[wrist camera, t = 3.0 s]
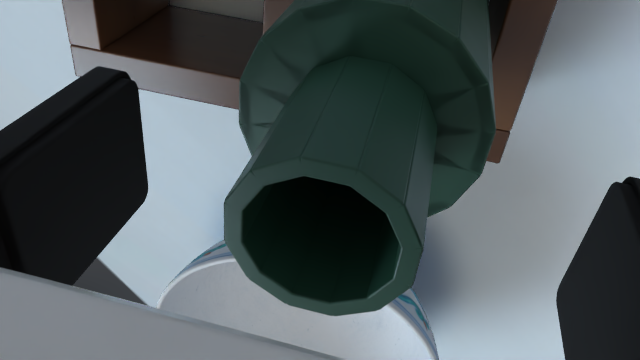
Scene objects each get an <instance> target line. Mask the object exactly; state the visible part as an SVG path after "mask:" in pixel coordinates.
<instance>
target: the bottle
mask: <svg viewBox="0 0 640 360" xmlns="http://www.w3.org/2000/svg"><path fill="white" fill-rule="evenodd" d="M239 125H240V128H241V130H242V133H243V135H244V138H245V140H246V143H247V145H248V148H249V150H250V153H251V155H252V157H251V159H250V161H249V162H248V164H247V165H246V167H245V169H244V170H243V172H242V173H241V175H240V177H239V178H238V180H237V181H236V183H235V185H234V186H233V188H232V189H231V191H230V192H229V194H228V196H227V197H226V199H225V202H224V241H225V244H226V245H227V247H228V249H229V250H230V252H231V253H232V255H233V256H234V258H235V260H236V261H237V263H238V264H239V266H240V267H241V269H242V271H243V272H244V274H245V275H246V277H247V278H248V279H249V280H251V281H252V282H254V283H255V284H257V285H258V286H259V287H261V288H262V289H264V290H265V291H267V292H268V293H270V294H271V295H273V296H274V297H276V298H277V299H279V300H280V301H282V302H283V303H285V304H287V305H289V306H293V307H297V308H301V309H305V310H309V311H313V312H317V313H321V314H325V315H329V316H342V315H350V314H358V313H366V312H374V311H377V310H380V309H382V308H383V307H384V306H386V305H387V304H389V303H390V302H391V301H393V300H394V299H396V298H397V297H399V296H400V295H401V294H403V293H404V292H406V291H407V290H408V289H410V288H411V286H412V285H413V283H414V280H415V276H416V273H417V269H418V266H419V263H420V259H421V256H422V252H423V248H424V239H425V231H426V222H427V217H429V216H432V215H434V214H436V213H438V212H441V211H443V210H445V209H447V208H449V207H450V206H452V205H453V204H454V203H455V202H456V201H457V200H458V199H459V198H460V197H461V195H462V194H463V193H464V192H465V191H466V190H467V189H468V188H469V187H470V186H471V185H472V184H473V183H474V182H475V181H476V180H477V179H478V178H479V177H480V175H481V174H482V172H483V169H484V166H485V163H486V160H487V157H488V154H489V151H490V148H491V145H492V142H493V139H494V136H495V134H496V120H495V104H494V88H493V71H492V55H491V39H490V23H489V6H488V0H294V1H293V3H292V4H291V5H290V6H289V7H288V8H287V9H286V10H285V11H284V12H283V14H282V15H281V16H280V17H279V18H278V19H277V20H276V21H275V22H274V23H273V25H272V26H271V27H270V28H269V29H268V30H267V31H266V32H265V33H264V34H263V36H262V37H261V38H260V39H259V40H258V43H257V45H256V47H255V49H254V51H253V53H252V55H251V57H250V59H249V61H248V63H247V65H246V67H245V69H244V71H243V73H242V75H241V78H240V81H239Z"/></svg>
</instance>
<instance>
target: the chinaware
mask: <svg viewBox="0 0 640 360" xmlns="http://www.w3.org/2000/svg"><path fill="white" fill-rule="evenodd" d="M156 308H158V309H162V310H165V311H169V312H173V313H177V314H180V315H184V316H188V317H191V318H195V319H199V320H203V321H206V322H210V323H214V324H217V325H221V326H225V327H229V328H232V329H236V330H240V331H243V332H247V333H251V334H255V335H258V336H262V337H266V338H269V339H273V340H277V341H280V342H284V343H288V344H292V345H295V346H299V347H303V348H306V349H310V350H314V351H317V352H321V353H325V354H328V355H332V356H336V357H339V358H343V359H347V360H439V357H438V352H437V348H436V344H435V340H434V336H433V333H432V330H431V327H430V324H429V321H428V319H427V316H426V314H425V312H424V309H423V307H422V305H421V303H420V301H419V299H418V297H417V296H416V294H415V292H414V291H413V289H412V288H410V289H408V290H407V291H406V292H404V293H403V294H401V295H400V296H399V297H397V298H396V299H394V300H393V301H391V302H390V303H389V304H387V305H386V306H384V307H383V308H382V309H380V310H377V311H374V312H366V313H358V314H350V315H342V316H329V315H325V314H321V313H317V312H313V311H309V310H305V309H301V308H297V307H293V306H289V305H287V304H285V303H283V302H282V301H280V300H279V299H277V298H276V297H274V296H273V295H271V294H270V293H268V292H267V291H265V290H264V289H262V288H261V287H259V286H258V285H257V284H255V283H254V282H252V281H251V280H249V279H248V278H247V277H246V275H245V274H244V272H243V271H242V269H241V267H240V266H239V264H238V263H237V261H236V260H235V258H234V256H233V255H232V253H231V252H230V250H229V249H228V247H227V245H226V244H225V241H224V240H222V241H220V242H219V243H217V244H215V245H214V246H212V247H211V248H209V249H208V250H206V251H205V252H203V253H202V254H201V255H199V256H198V257H197V258H196V259H194V260H193V261H192V262H191V263H190V264H189V265H187V266H186V267H185V268H184V269H183V270H182V271H181V272H180V273H179V274H178V275H177V276H176V277H175V278H174V279H173V280H172V281H171V282H170V284H169V285H168V286H167V287H166V289H165V290H164V291H163V293H162V295H161V296H160V298H159V300H158V303H157V306H156Z"/></svg>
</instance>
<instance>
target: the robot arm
mask: <svg viewBox="0 0 640 360" xmlns="http://www.w3.org/2000/svg"><path fill="white" fill-rule="evenodd" d="M147 193H148V180H147V171H146V161H145V151H144V142H143V132H142V122H141V113H140V103H139V93H138V86H137V84H136V82H135V81H134V80H131V78H130V76H129V74H128V73H127V72H125V71H120V70H116V69H111V68H106V67H101V66H97V67H95V68H93V69H92V70H90V71H89V72H87V73H86V74H84V75H83V76H81V77H80V78H78V79H77V80H75V81H74V82H72V83H71V84H69V85H68V86H66V87H65V88H63V89H62V90H60V91H59V92H57V93H56V94H54V95H53V96H51V97H50V98H48V99H47V100H45V101H44V102H42V103H41V104H39V105H38V106H36V107H35V108H33V109H32V110H30V111H29V112H27V113H26V114H24V115H23V116H22V117H20V118H19V119H17V120H16V121H14V122H13V123H11V124H10V125H8V126H7V127H5V128H4V129H2V130H1V131H0V360H347V359H343V358H339V357H336V356H332V355H328V354H325V353H321V352H317V351H314V350H310V349H306V348H303V347H299V346H295V345H292V344H288V343H284V342H280V341H277V340H273V339H269V338H266V337H262V336H258V335H255V334H251V333H247V332H243V331H240V330H236V329H232V328H229V327H225V326H221V325H217V324H214V323H210V322H206V321H203V320H199V319H195V318H191V317H188V316H184V315H180V314H177V313H173V312H169V311H165V310H162V309H158V308H154V307H150V306H146V305H142V304H139V303H135V302H131V301H127V300H124V299H120V298H116V297H112V296H108V295H105V294H101V293H97V292H93V291H90V290H86V289H82V288H78V287H75V286H72V285H73V284H74V283H75V282H76V281H77V280H78V278H79V277H80V276H81V275H82V274H83V272H84V271H85V270H86V269H87V268H88V267H89V266H90V264H91V263H92V262H93V261H94V260H95V259H96V257H97V256H98V255H99V254H100V253H101V252H102V250H103V249H104V248H105V247H106V246H107V245H108V243H109V242H110V241H111V240H112V239H113V238H114V236H115V235H116V234H117V233H118V232H119V231H120V229H121V228H122V227H123V226H124V225H125V224H126V222H127V221H128V220H129V219H130V218H131V217H132V215H133V214H134V213H135V212H136V211H137V210H138V208H139V207H140V206H141V205H142V204H143V202H144V201H145V199H146V196H147ZM556 302H557V310H558V316H559V322H560V329H561V335H562V342H563V348H564V354H565V360H640V179H639V178H634V177H628V178H626V179H625V180H624V181H623V182H622V183H619V182H614V183H613V184H612V185H611V186H610V188H609V190H608V192H607V193H606V195H605V197H604V199H603V201H602V203H601V205H600V207H599V209H598V211H597V213H596V215H595V217H594V219H593V221H592V223H591V225H590V227H589V228H588V230H587V232H586V234H585V236H584V238H583V240H582V242H581V244H580V246H579V248H578V250H577V252H576V254H575V256H574V258H573V260H572V262H571V263H570V265H569V267H568V269H567V271H566V273H565V275H564V277H563V279H562V281H561V283H560V285H559V288H558V291H557V299H556Z"/></svg>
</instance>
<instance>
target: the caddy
mask: <svg viewBox="0 0 640 360" xmlns="http://www.w3.org/2000/svg"><path fill="white" fill-rule="evenodd" d="M293 1H294V0H264V12H263V23H260V22H254V21H249V20H243V19H238V18H233V17H227V16H222V15H216V14H211V13H206V12H200V11H195V10H189V9H184V8H179V7H173V6H168V5H169V0H62V3H63V9H64V14H65V20H66V25H67V31H68V36H69V42H70V44H71V52H72V57H73V63H74V68H75V74H76V76H79V77H81V76H83V75H84V74H86V73H87V72H89V71H90V70H92V69H93V68H95V67H97V66H101V67H106V68H111V69H116V70H120V71H125V72H127V73H128V74H129V76H130V78H131V80H134V81H135V82H136V84H137V86H138V89H142V90H147V91H152V92H156V93H161V94H166V95H171V96H176V97H180V98H185V99H190V100H195V101H200V102H204V103H209V104H214V105H219V106H224V107H229V108H233V109H238V110H239V81H240V78H241V75H242V73H243V71H244V69H245V67H246V65H247V63H248V61H249V59H250V57H251V55H252V53H253V51H254V49H255V47H256V45H257V43H258V40H259V39H260V38H261V37H262V36H263V34H264V33H265V32H266V31H267V30H268V29H269V28H270V27H271V26H272V25H273V23H274V22H275V21H276V20H277V19H278V18H279V17H280V16H281V15H282V14H283V12H284V11H285V10H286V9H287V8H288V7H289V6H290V5H291V4H292V3H293ZM557 1H558V0H490V2H489V23H490V39H491V55H492V71H493V88H494V104H495V120H496V134H495V136H494V139H493V142H492V145H491V148H490V151H489V154H488V157H487V160H486V161H489V162H493V163H499V162H500V160H501V157H502V155H503V152H504V149H505V146H506V143H507V141H508V138H509V135H510V130H511V129H512V126H513V124H514V121H515V118H516V115H517V112H518V110H519V107H520V104H521V101H522V99H523V96H524V93H525V90H526V87H527V85H528V82H529V79H530V76H531V73H532V71H533V68H534V65H535V62H536V59H537V57H538V54H539V51H540V48H541V45H542V43H543V40H544V37H545V34H546V32H547V29H548V26H549V23H550V20H551V18H552V15H553V12H554V9H555V6H556V4H557Z"/></svg>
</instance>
